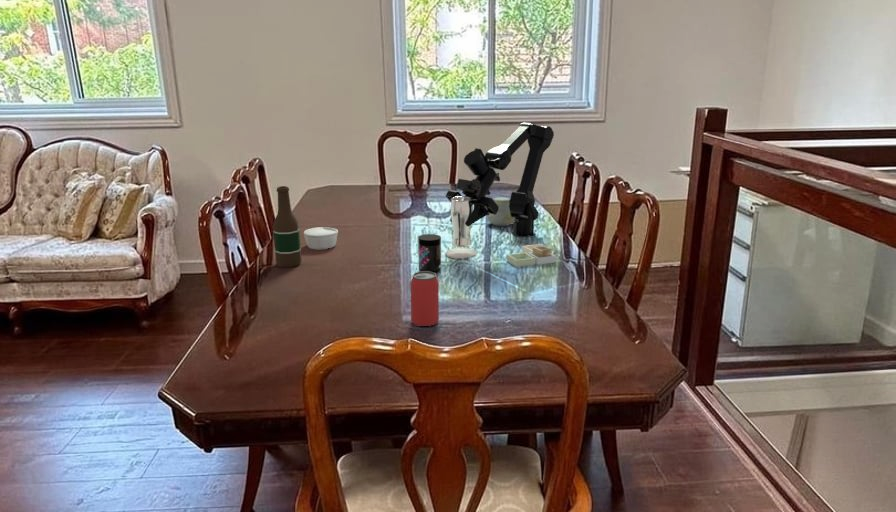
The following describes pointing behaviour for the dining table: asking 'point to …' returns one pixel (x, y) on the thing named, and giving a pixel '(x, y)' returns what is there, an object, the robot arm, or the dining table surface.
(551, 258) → the pale blue dish
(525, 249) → the cream dish
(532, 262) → the sage dish
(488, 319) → the dining table surface
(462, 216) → the beer glass
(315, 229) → the ramekin
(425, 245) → the supplement container
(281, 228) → the beer bottle
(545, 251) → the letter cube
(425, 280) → the beer can
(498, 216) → the air freshener
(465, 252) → the stone coaster
